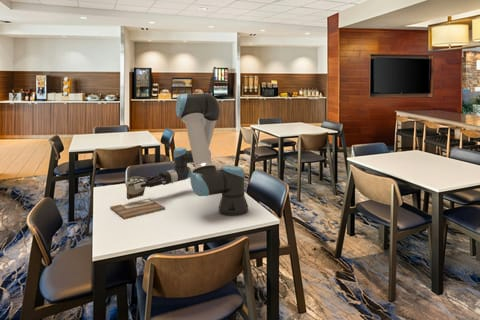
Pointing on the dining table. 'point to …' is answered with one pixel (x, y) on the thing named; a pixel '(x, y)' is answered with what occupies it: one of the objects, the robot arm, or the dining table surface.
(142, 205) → the board
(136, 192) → the food container
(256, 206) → the dining table surface
